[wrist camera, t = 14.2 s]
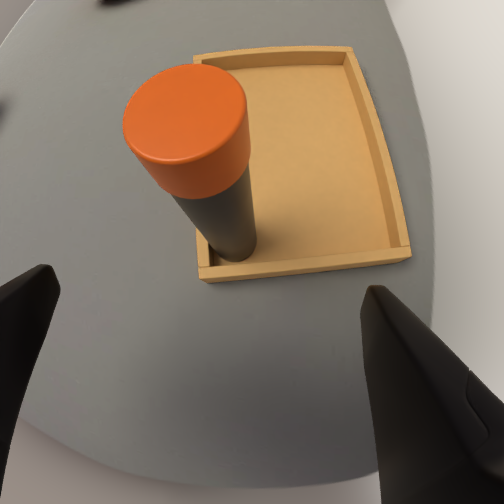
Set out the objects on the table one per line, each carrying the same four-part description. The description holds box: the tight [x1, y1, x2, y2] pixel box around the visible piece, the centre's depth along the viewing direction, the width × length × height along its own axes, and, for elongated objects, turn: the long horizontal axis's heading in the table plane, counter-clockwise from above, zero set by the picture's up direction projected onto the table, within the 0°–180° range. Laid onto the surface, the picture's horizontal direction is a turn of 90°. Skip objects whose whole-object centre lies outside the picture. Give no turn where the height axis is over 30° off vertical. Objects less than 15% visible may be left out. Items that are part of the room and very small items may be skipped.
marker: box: [123, 64, 257, 262], centre depth 12 cm, size 3×3×12 cm
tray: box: [193, 46, 412, 283], centre depth 18 cm, size 15×11×2 cm
